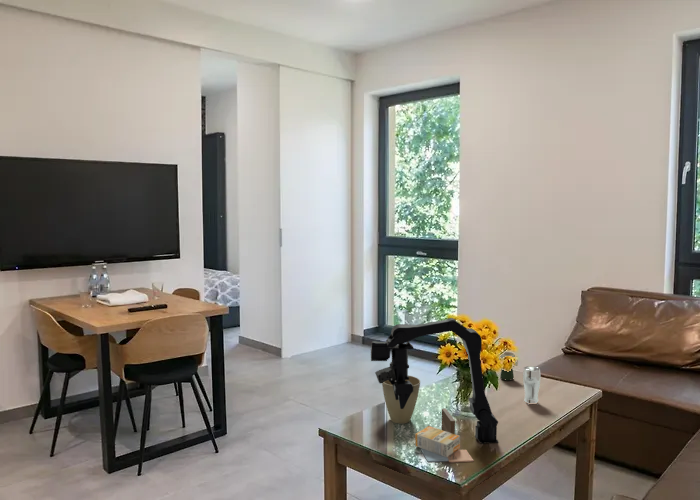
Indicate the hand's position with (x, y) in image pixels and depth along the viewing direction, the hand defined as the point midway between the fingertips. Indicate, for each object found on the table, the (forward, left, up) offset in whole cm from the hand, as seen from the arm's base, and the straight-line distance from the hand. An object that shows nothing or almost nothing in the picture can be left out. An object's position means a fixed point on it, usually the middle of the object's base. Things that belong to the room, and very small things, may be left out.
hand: (399, 404), depth 194 cm
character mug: (-65, -64, -13) cm, 92 cm away
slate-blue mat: (-11, +13, -13) cm, 21 cm away
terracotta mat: (-17, +15, -13) cm, 26 cm away
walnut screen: (-17, +1, -13) cm, 22 cm away
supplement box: (-7, +4, -10) cm, 13 cm away
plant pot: (-4, -18, -13) cm, 23 cm away
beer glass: (-63, -32, -13) cm, 72 cm away
